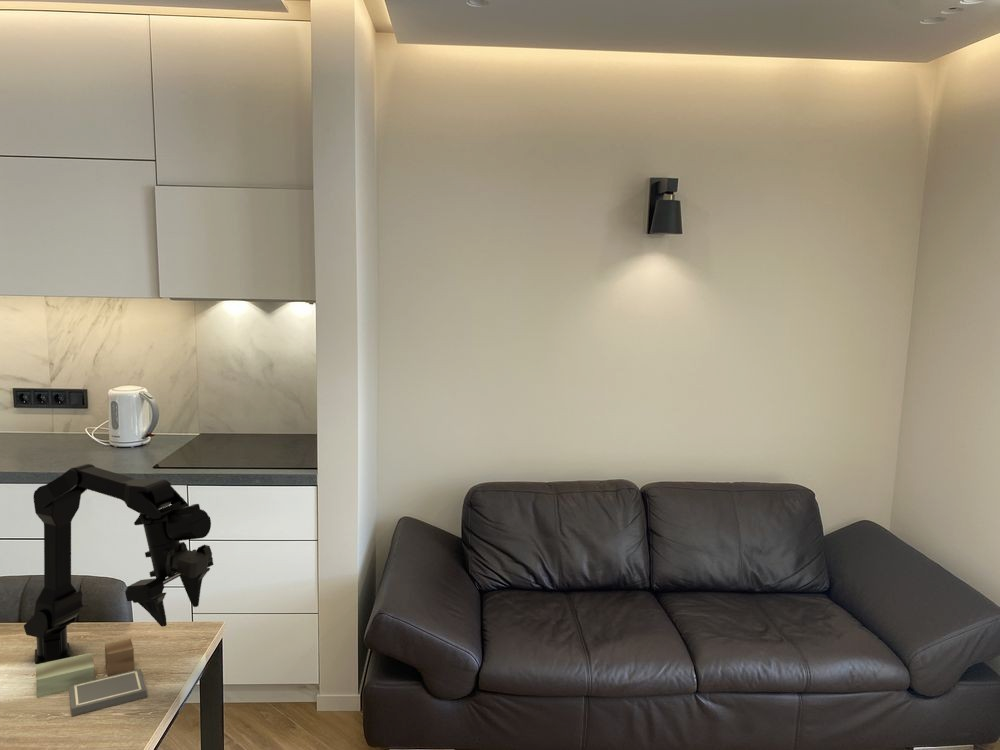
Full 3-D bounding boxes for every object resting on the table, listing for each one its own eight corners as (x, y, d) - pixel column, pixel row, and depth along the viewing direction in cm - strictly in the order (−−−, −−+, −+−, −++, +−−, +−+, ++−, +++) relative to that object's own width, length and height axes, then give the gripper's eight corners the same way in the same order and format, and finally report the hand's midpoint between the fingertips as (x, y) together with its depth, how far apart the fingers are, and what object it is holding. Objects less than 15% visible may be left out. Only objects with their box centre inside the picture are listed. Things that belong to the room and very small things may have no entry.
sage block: (36, 682, 147) (36, 664, 147) (92, 670, 153) (91, 652, 152) (37, 698, 142) (36, 679, 141) (94, 685, 147) (94, 666, 147)
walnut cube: (105, 665, 154) (104, 643, 153) (131, 659, 157) (130, 638, 156) (107, 676, 150) (106, 654, 149) (134, 670, 153) (133, 648, 152)
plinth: (69, 692, 144) (69, 685, 143) (141, 675, 151) (140, 668, 151) (71, 716, 136) (71, 708, 136) (146, 697, 143) (146, 689, 143)
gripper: (161, 555, 134) (179, 634, 134) (226, 524, 151) (241, 594, 152) (115, 560, 137) (133, 638, 138) (183, 529, 155) (199, 598, 156)
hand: (180, 616), depth 146 cm, fingers open, 9 cm apart
